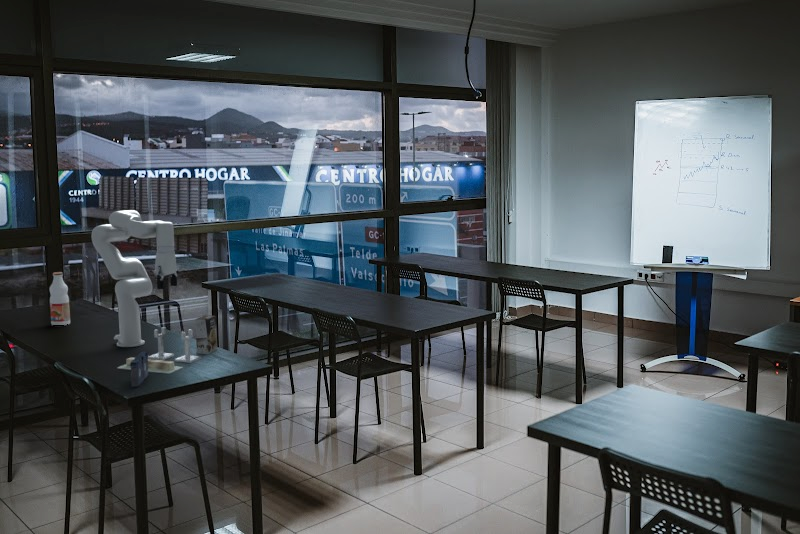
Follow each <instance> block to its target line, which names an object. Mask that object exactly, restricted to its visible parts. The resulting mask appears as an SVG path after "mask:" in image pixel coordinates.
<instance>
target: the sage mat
mask: <svg viewBox="0 0 800 534" xmlns="http://www.w3.org/2000/svg"><path fill="white" fill-rule="evenodd" d="M116 368H117V369H120V370H129V371H131V367H130V366H126V364H125V363H124V364H122V365H120V366H118V367H116ZM181 369H184V366H177V365H174V369H172V370H161V369H152V368H148V373H158V374H166V375H167V374H168V375H170V374H172V373H175V372H177V371H179V370H181Z"/></svg>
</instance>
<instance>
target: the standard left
mask: <svg viewBox="0 0 800 534" xmlns="http://www.w3.org/2000/svg"><path fill="white" fill-rule="evenodd" d="M166 335H167V327H164V326H163V327H161V333H160V332H159V329H154V330H153V337H154V338H156V339H157V349H158V351H157V353H154V354H151V355H148V359H152V360H163V361H166V360H167V359H170V358H174V357H175V353H172V352H170V353H168V352H164V349H165V348H164V336H166Z"/></svg>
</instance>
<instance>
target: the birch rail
mask: <svg viewBox="0 0 800 534" xmlns="http://www.w3.org/2000/svg"><path fill="white" fill-rule="evenodd" d="M135 358H136V357H131V356H130V357H129V358H126V359H125V363H126V366H130V363H131V362H132V361H133V360H134V359H135ZM174 366H175V361H171V360H156V359H148V368H152V369H161V370H172V369H174Z"/></svg>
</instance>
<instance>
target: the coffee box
mask: <svg viewBox="0 0 800 534" xmlns="http://www.w3.org/2000/svg"><path fill="white" fill-rule="evenodd" d="M217 337H218V336H217V315H202V316H199V317H196V318H195V342H196V344H195V345H196V346H195V347H196V350H195V351H196V354H200V355H201V354H202V355H210V354H212V353H214V352H215V351H218V340H217Z"/></svg>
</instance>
